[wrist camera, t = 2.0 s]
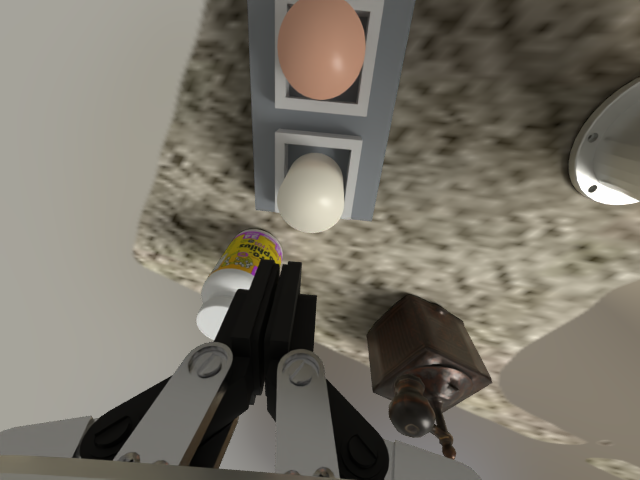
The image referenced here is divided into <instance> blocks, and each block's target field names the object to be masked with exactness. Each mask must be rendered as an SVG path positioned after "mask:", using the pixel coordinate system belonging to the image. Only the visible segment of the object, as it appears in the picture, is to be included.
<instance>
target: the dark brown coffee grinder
mask: <svg viewBox="0 0 640 480" xmlns="http://www.w3.org/2000/svg"><path fill="white" fill-rule="evenodd" d="M367 341H368V350H369V361H370V370H371V380H372V389H373V393H376V394H378V395H380V396H383V397H385V398H387V399H389V400H392V401H391V403H390V405H389V418H390V420H391V422H392V424H393V425H394V427H395V428H396V429H397V431H398V432H400V433H401V434H403V435H405V436H409V437H413V438H415V437H422V436H423V435H425V434H427V433H429V432H431V433H432V434H433V435H435V436H436V437H437V438H438V439H439V441H440V444H441V445H442V452H443V455H444V456H445V457H447V458H450V459H453V460H454V459H455V457H456V451H455V449H454V447H453V446H452V444H453V437H452V435H451V434H450V433H449V432H448V431H447V427H446V424H445V420H444V417H443V414H442V413H443V412H445V411H446V410H448V409H450V408H451V407H453V406H455V405H456V404H458V403H460V402H461V401H463V400H465V399H466V398H468V397H470V396H471V395H473V394H475V393H476V392H478V391H480V390H481V389H483V388H485V387H486V386H488V385H489V384H491V383H492V380H491V377H490V375H489V373H488V371H487V369H486V367H485V365H484V363H483V361H482V359H481V357H480V355H479V353H478V352H477V350H476V348H475V346H474V344H473V342H472V340H471V338H470V336H469V334H468V332H467V330H466V329H465V327H464V323H463V321H462V320H460V319H458V318H457V317H455V316H454V315H452V314H450V313H449V312H448V311H447V310H446V309H444V308H442V307H440V306H438V305H435V304H432V303H430V302H428V301H425V300H423V299H421V298H419V297H416V296H412V295H409V294H408V295H406V296H405V297H404V298H402V299H401V300H400V301H398V302H397V303H396V304H394V305H393V306H392V307H391V308H390V309H389V310H388V311H387V312H386V313H385V314H384V315H383V316H382V317H381V318H380V319H379V320H378V321H377V322H376V323H375V324H374V326H373V327H372V328H371V330H370V331H369V332H368V334H367ZM435 419H436V423H437V425H435V424H434V421H435Z"/></svg>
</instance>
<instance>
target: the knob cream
mask: <svg viewBox="0 0 640 480" xmlns="http://www.w3.org/2000/svg"><path fill="white" fill-rule="evenodd" d="M277 206H278V210H279V212H280V214H281V216H282V218H283V219H284V220H285V221H286V223H288V224H289V225H290V226H291V227H293V228H295V229H296V230H299V231H302V232H306V233H318V232H322V231H325V230H327V229H329V228H331V227H332V226H333V225H335V224H336V223H337V221H338V220H339V219H340V217H341V215H342V213H343V210H344V189H343V176H342V172H341V169H340V167H339V166H338V164H337V163H336V162H335V161H334V160H333V159H332V158H330V157H329V156H327V155H324V154H321V153H308V154H305V155H302V156H301V157H299V158H298V159H296V160H295V162H294V163H293V164H292V165H291V167H290V169H289V171H288V173H287V175H286V177H285V179H284V181H283V182H282V184H281V186H280V188H279V191H278V195H277Z"/></svg>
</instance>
